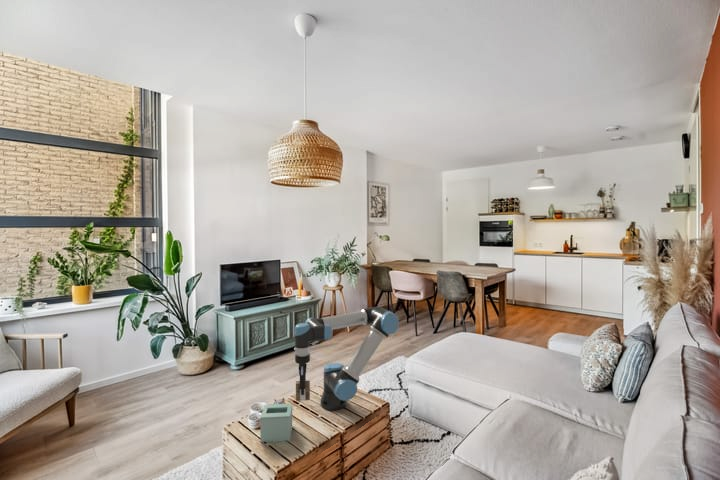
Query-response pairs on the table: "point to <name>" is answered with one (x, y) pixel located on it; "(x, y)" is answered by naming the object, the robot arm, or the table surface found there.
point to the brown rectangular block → (307, 390)
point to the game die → (279, 401)
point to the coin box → (276, 422)
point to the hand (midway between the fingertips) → (303, 398)
